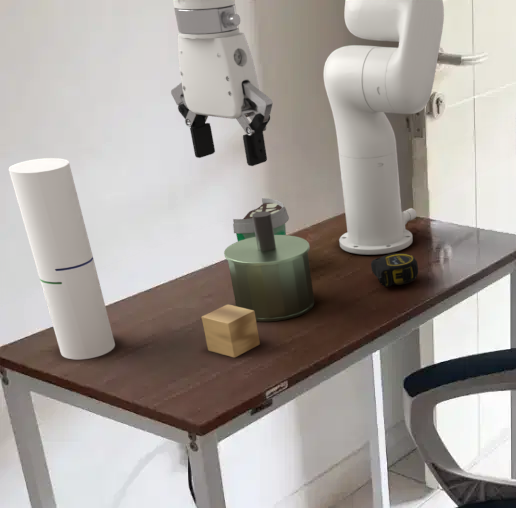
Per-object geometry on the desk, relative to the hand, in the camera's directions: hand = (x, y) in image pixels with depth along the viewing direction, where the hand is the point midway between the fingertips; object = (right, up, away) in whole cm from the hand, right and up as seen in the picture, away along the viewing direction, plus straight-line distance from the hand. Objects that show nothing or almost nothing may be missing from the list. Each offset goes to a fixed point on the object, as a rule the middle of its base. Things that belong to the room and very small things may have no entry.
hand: (231, 159), depth 137 cm
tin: (+3, -17, +14) cm, 23 cm away
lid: (+3, -10, +9) cm, 14 cm away
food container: (0, -9, +27) cm, 29 cm away
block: (0, -25, +2) cm, 25 cm away
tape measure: (+20, -13, +21) cm, 31 cm away
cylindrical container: (-21, -26, +3) cm, 33 cm away
